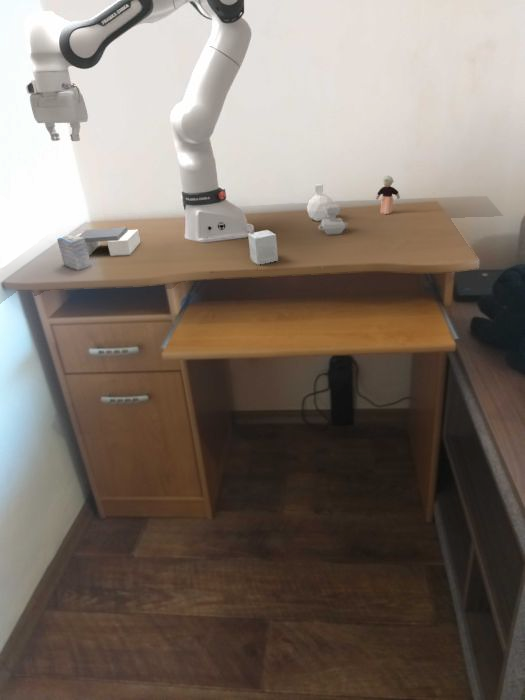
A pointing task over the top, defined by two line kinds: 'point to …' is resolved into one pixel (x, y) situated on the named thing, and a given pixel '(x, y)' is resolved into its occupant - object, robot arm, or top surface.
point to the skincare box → (263, 247)
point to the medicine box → (74, 252)
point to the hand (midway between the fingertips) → (65, 140)
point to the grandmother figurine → (387, 195)
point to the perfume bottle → (318, 204)
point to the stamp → (332, 221)
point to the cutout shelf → (112, 240)
